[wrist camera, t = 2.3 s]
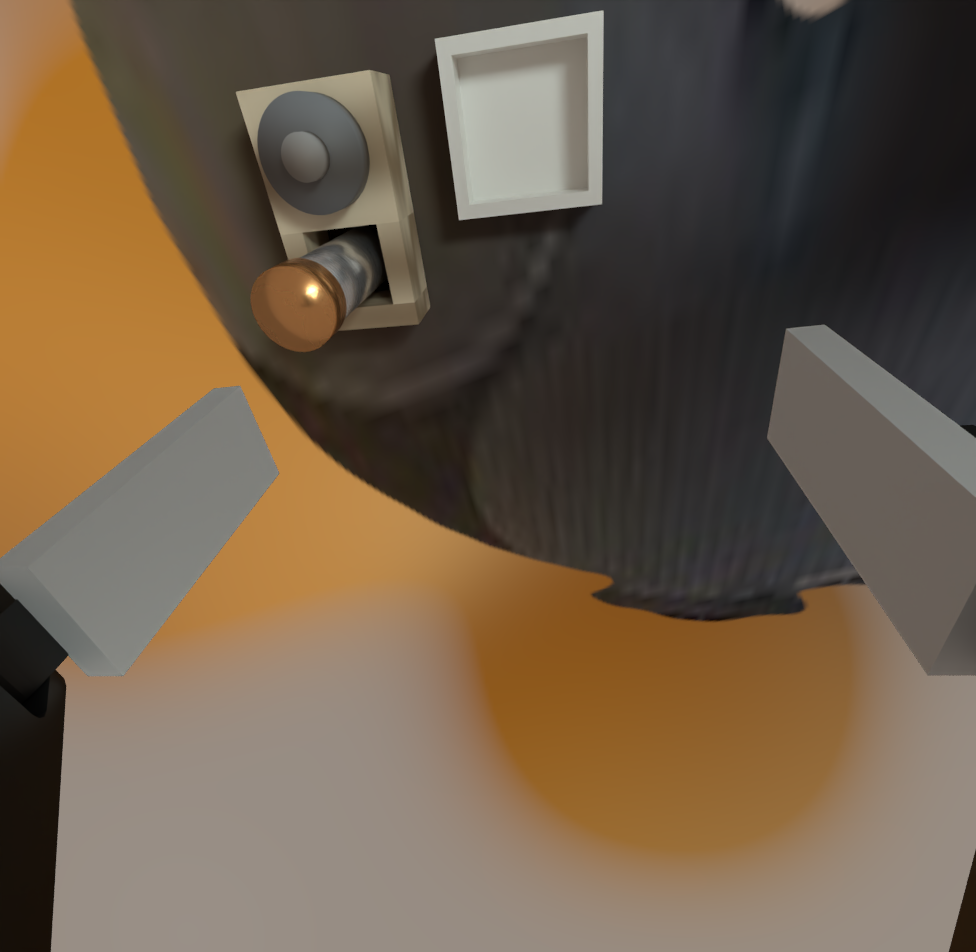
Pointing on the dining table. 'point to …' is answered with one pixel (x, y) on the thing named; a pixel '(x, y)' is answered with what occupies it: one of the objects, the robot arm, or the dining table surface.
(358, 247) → the pin
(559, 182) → the tray
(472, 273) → the dining table surface
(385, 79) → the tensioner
